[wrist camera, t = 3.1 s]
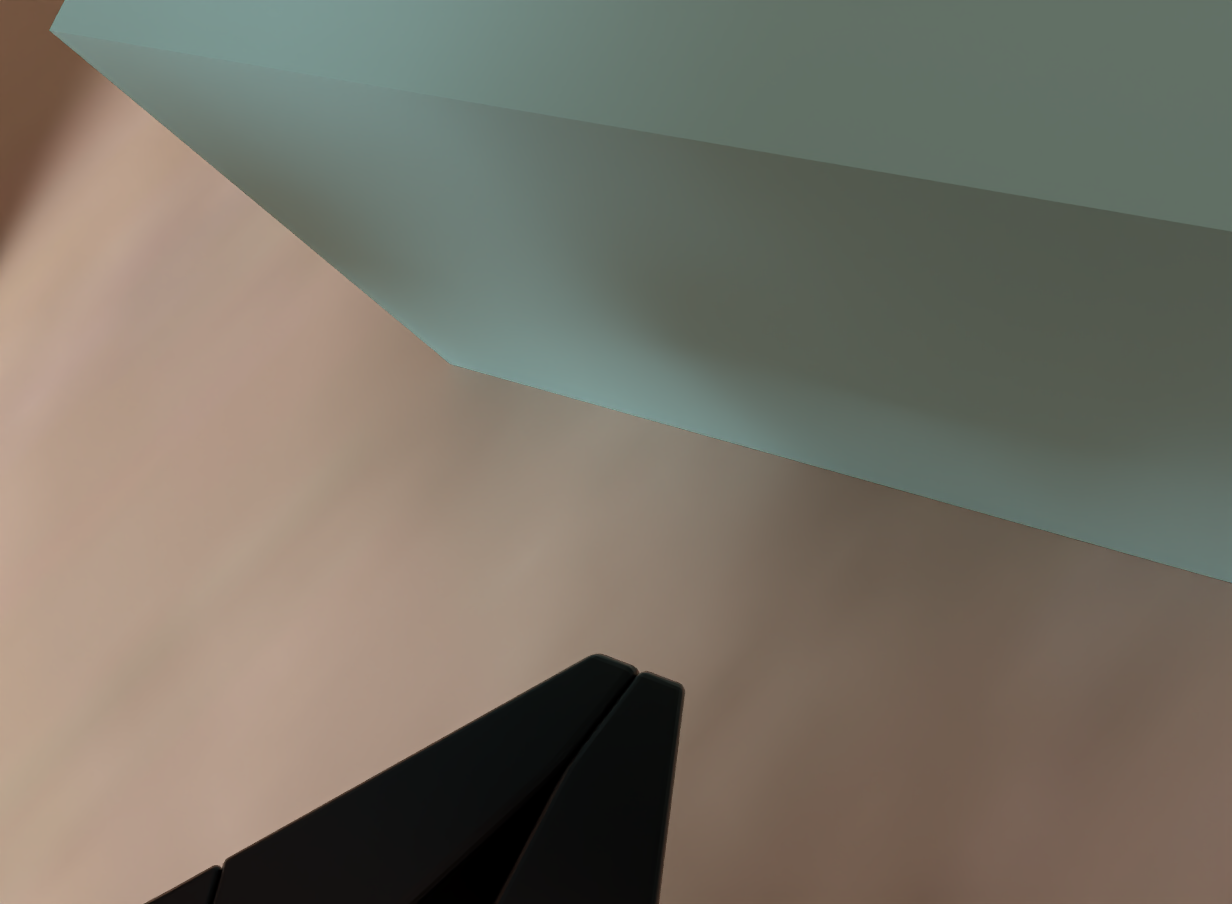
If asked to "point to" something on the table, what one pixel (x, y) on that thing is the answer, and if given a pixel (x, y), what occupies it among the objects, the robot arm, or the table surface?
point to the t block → (772, 220)
